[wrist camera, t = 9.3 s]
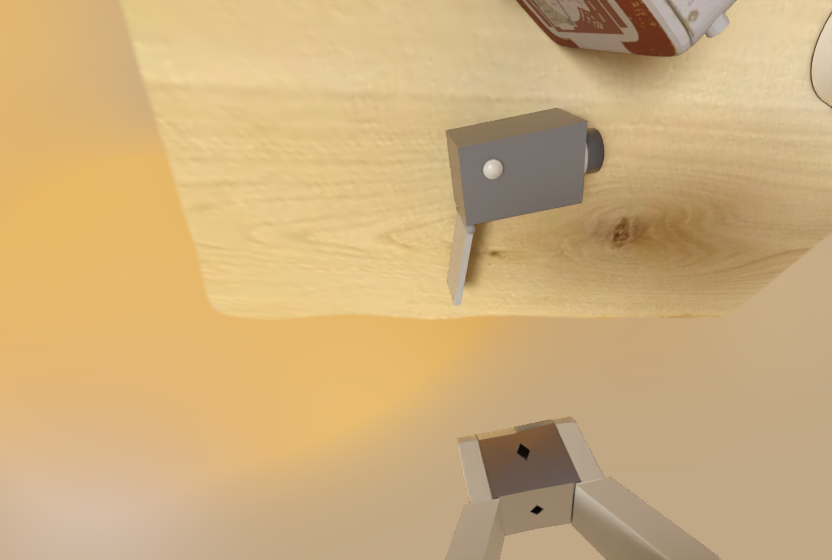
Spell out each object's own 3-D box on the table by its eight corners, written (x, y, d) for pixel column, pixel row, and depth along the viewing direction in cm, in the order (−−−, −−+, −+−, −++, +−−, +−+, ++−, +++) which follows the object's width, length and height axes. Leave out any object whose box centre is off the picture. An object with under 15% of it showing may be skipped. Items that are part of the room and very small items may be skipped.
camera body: (579, 103, 42) (617, 117, 35) (575, 177, 46) (608, 201, 40) (445, 130, 42) (458, 149, 35) (454, 201, 46) (467, 229, 40)
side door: (453, 279, 51) (461, 307, 46) (445, 279, 51) (453, 307, 46) (465, 204, 46) (476, 226, 41) (456, 203, 46) (467, 225, 41)
